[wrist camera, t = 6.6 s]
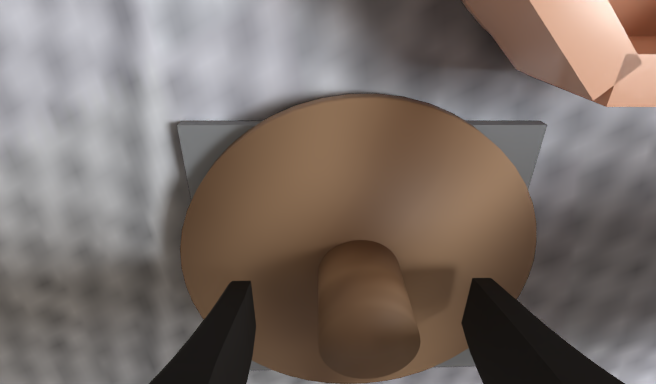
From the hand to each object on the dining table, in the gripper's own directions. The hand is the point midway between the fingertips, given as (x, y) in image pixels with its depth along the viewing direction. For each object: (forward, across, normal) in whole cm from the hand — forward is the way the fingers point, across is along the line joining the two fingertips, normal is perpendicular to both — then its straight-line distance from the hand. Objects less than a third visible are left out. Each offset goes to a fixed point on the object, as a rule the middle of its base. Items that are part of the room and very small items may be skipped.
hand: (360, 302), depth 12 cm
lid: (+2, 0, 0) cm, 2 cm away
